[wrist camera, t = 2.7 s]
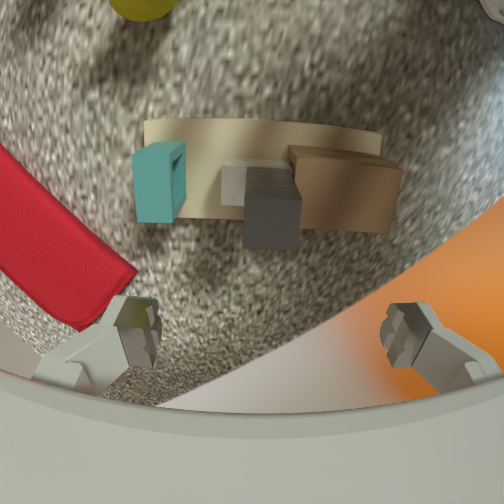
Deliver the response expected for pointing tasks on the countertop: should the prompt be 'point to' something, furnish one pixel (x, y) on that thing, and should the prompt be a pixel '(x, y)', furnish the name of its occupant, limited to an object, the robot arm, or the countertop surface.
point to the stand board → (243, 151)
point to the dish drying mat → (54, 251)
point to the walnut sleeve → (345, 189)
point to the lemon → (142, 9)
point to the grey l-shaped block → (264, 201)
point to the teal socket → (159, 181)
